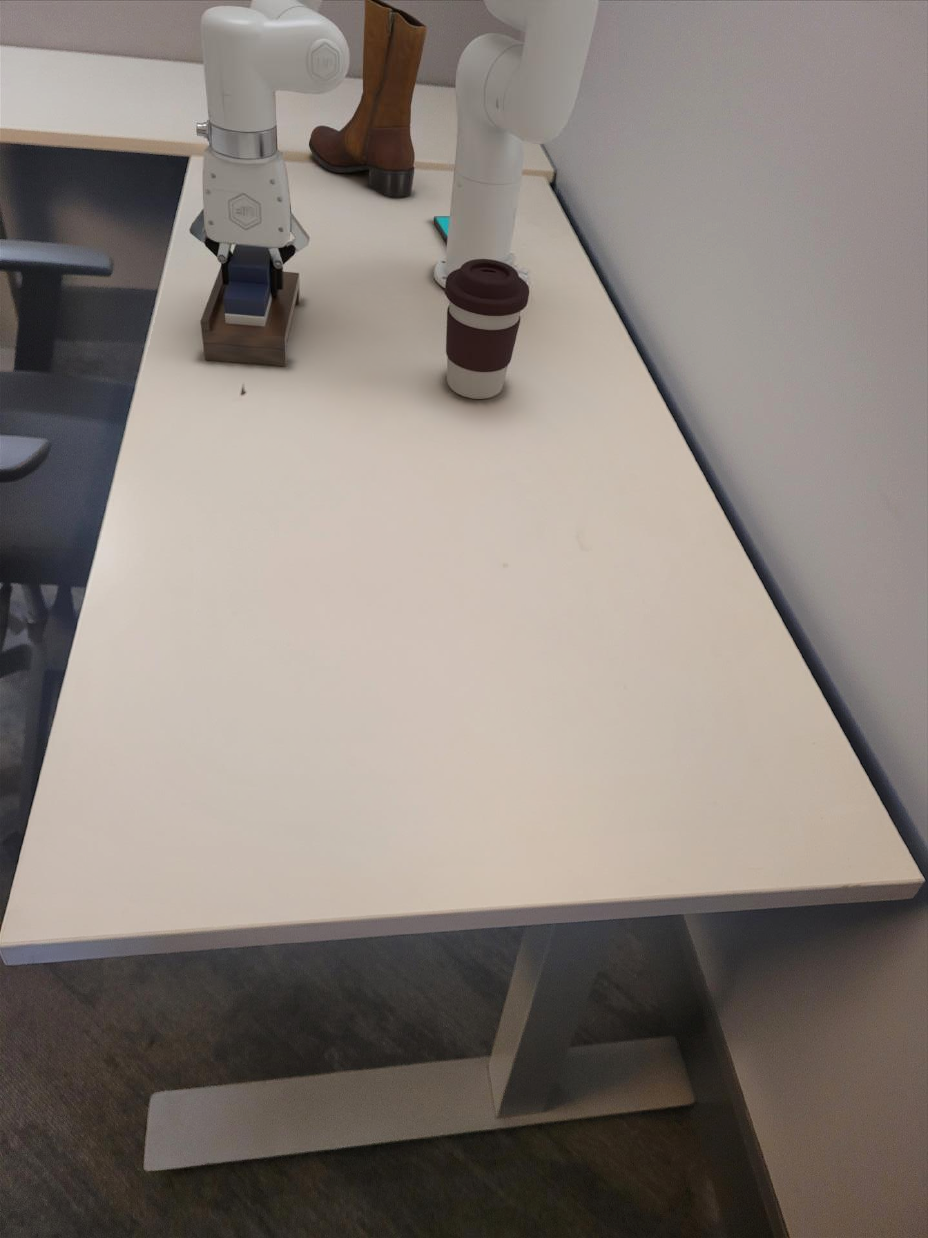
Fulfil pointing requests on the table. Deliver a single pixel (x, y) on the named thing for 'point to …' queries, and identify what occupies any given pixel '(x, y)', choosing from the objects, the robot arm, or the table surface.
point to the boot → (380, 105)
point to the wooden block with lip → (250, 328)
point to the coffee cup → (482, 325)
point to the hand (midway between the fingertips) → (253, 290)
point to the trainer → (248, 286)
